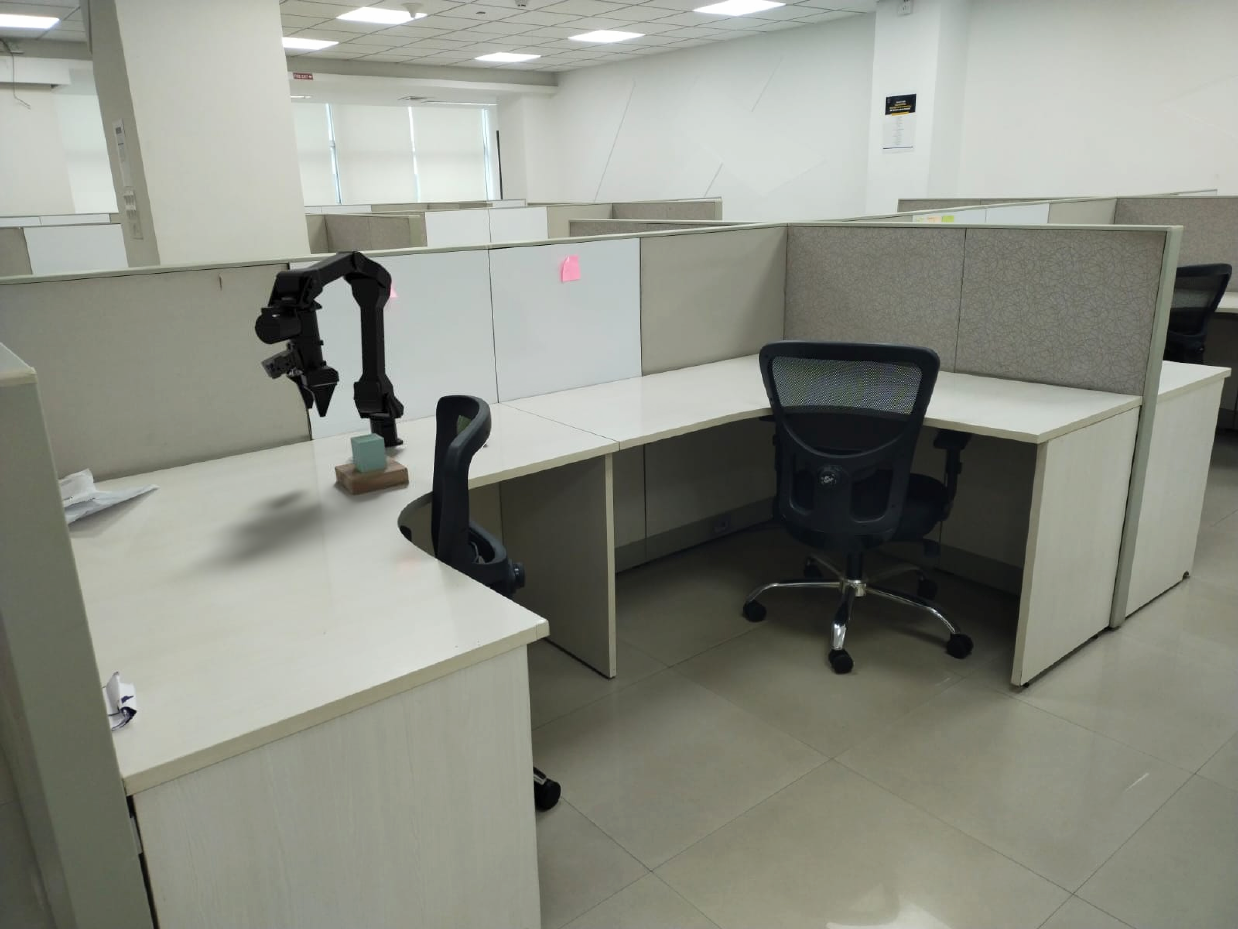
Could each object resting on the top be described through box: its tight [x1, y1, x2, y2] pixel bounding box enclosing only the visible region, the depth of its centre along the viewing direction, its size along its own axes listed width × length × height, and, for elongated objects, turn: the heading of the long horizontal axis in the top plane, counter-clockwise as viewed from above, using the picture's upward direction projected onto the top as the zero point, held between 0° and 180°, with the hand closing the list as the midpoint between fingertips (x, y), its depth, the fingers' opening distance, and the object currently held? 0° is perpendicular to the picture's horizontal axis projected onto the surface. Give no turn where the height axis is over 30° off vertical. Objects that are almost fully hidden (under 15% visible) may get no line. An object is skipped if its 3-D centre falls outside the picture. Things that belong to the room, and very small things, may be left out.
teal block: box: [350, 433, 387, 473], centre depth 173 cm, size 5×5×6 cm
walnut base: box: [334, 455, 410, 496], centre depth 174 cm, size 11×11×3 cm
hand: (315, 412), depth 177 cm, fingers open, 9 cm apart
